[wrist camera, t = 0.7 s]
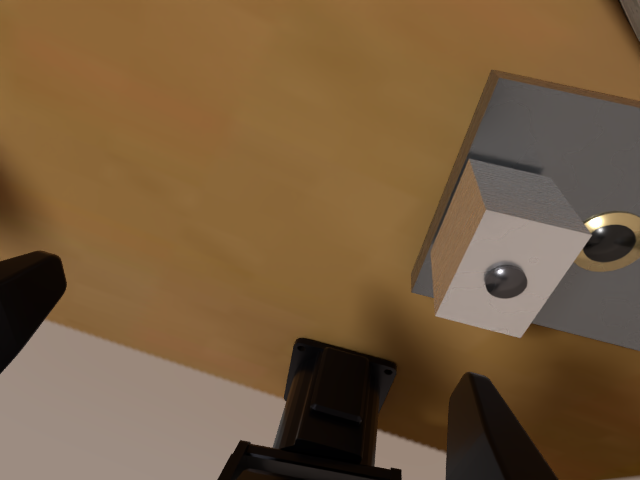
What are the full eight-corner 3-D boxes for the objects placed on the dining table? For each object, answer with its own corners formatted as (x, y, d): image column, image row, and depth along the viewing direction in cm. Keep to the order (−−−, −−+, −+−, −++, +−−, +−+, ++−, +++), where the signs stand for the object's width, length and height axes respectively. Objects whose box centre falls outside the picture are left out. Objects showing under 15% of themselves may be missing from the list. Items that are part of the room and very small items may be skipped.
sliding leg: (499, 268, 17) (521, 342, 13) (430, 251, 17) (435, 319, 13) (550, 176, 14) (594, 238, 11) (468, 158, 14) (487, 213, 11)
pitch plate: (671, 339, 19) (741, 435, 15) (411, 273, 20) (411, 347, 16) (867, 150, 13) (1066, 222, 9) (491, 69, 14) (523, 103, 10)
